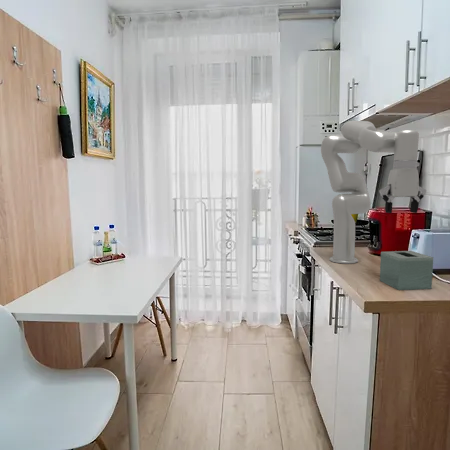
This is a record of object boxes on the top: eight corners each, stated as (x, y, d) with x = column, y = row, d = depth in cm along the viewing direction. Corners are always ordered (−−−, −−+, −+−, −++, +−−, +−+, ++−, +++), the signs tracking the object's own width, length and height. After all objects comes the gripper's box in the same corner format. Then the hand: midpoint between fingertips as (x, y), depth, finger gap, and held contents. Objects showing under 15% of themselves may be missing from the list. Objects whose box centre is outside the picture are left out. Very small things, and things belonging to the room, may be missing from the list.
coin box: (379, 280, 131) (380, 251, 130) (410, 279, 132) (411, 250, 131) (398, 290, 119) (399, 258, 118) (431, 288, 120) (433, 257, 119)
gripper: (420, 165, 131) (417, 211, 133) (376, 165, 129) (373, 211, 132) (434, 165, 123) (430, 213, 126) (387, 165, 122) (383, 214, 124)
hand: (401, 212), depth 129 cm, fingers open, 9 cm apart
